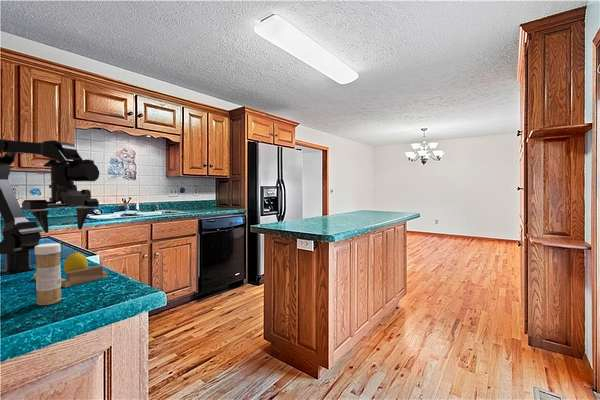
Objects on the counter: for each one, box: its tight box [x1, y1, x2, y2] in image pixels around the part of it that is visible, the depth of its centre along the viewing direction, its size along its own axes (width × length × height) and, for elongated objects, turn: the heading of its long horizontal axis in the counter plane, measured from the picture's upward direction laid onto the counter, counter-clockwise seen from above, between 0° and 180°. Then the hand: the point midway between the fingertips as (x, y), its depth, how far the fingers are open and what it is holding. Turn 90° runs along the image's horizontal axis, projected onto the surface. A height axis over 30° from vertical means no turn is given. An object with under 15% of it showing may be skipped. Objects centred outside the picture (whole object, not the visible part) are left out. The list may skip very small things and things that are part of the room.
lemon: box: [63, 251, 89, 275], centre depth 87 cm, size 6×6×8 cm
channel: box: [33, 265, 108, 288], centre depth 89 cm, size 17×11×4 cm, turn 63°
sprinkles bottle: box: [34, 242, 62, 306], centre depth 69 cm, size 5×5×13 cm
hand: (64, 231), depth 95 cm, fingers open, 9 cm apart
